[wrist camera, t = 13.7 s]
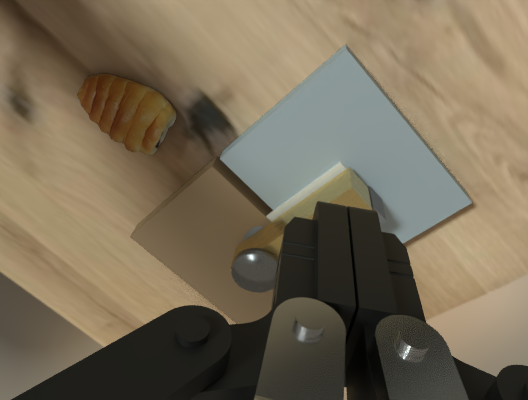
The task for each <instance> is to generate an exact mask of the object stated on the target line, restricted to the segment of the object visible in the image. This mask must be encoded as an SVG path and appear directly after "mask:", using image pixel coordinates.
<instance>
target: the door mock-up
mask: <svg viewBox="0 0 528 400" xmlns="http://www.w3.org/2000/svg"><path fill="white" fill-rule="evenodd" d="M348 167H350V168H351V169H352V170H353V171H354V173H355V174H356V175H357V176H358V177H359V178H360V179H361V180H362V181H363V183H364V184H365V185H366V186H367V187H368V190H369V195H370V201H371V207H372V210H373V211H377V213H378V217H379V222H380V227H381V232H386V233H392V234H395V235H396V236H397V238H398V239H399V240H400V241H401V242H402V244H403V243H405V242H407V241H408V240H410V239H412V238H413V237H415V236H417V235H418V234H420V233H422V232H424V231H425V230H427V229H429V228H430V227H432V226H434V225H435V224H437V223H439V222H441V221H442V220H444V219H446V218H447V217H449V216H451V215H452V214H454V213H456V212H458V211H459V210H461V209H463V208H464V207H466V206H468V205H469V204H471V203H472V201H471V199H470V198H469V196H468V194H467V192H466V191H465V190H464V189H463V187H462V186H461V185H460V184H459V182H458V181H457V180H456V179H455V178H454V176H453V175H452V174H451V173H450V171H449V170H448V169H447V168H446V167H445V165H444V164H443V163H442V162H441V160H440V159H439V158H438V157H437V155H436V154H435V153H434V152H433V151H432V149H431V148H430V147H429V146H428V144H427V143H426V142H425V141H424V140H423V138H422V137H421V136H420V135H419V133H418V132H417V131H416V130H415V129H414V127H413V126H412V125H411V124H410V122H409V121H408V120H407V119H406V118H405V116H404V115H403V114H402V113H401V111H400V110H399V109H398V108H397V107H396V105H395V104H394V103H393V102H392V100H391V99H390V98H389V97H388V96H387V94H386V93H385V92H384V91H383V89H382V88H381V87H380V86H379V85H378V83H377V82H376V81H375V80H374V78H373V77H372V76H371V75H370V73H369V72H368V71H367V70H366V69H365V67H364V66H363V65H362V64H361V62H360V61H359V60H358V59H357V58H356V56H355V55H354V54H353V53H352V51H351V50H350V49H349V48H348V47H347V45H346V44H345V45H344V46H343V47H342V48H341V49H340V50H338V51H337V52H336V53H335V54H334V55H333V56H331V57H330V58H329V59H328V60H327V61H326V62H325V63H323V64H322V65H321V66H320V67H319V68H318V69H316V70H315V71H314V72H313V73H312V74H311V75H310V76H308V77H307V78H306V79H305V80H304V81H303V82H301V83H300V84H299V85H298V86H297V87H296V88H295V89H293V90H292V91H291V92H290V93H289V94H288V95H287V96H285V97H284V98H283V99H282V100H281V101H280V102H278V103H277V104H276V105H275V106H274V107H273V108H272V109H270V110H269V111H268V112H267V113H266V114H265V115H263V116H262V117H261V118H260V119H259V120H258V121H257V122H255V123H254V124H253V125H252V126H251V127H250V128H248V129H247V130H246V131H245V132H244V133H243V134H242V135H240V136H239V137H238V138H237V139H236V140H235V141H233V142H232V143H231V144H230V145H229V146H228V147H227V148H225V149H224V150H223V152H222V155H221V157H220V158H219V157H218V156H216V157H215V158H214V159H213V160H212V161H210V162H209V163H208V164H207V165H206V166H205V167H204V168H202V169H201V170H200V171H199V172H198V173H197V174H195V175H194V176H193V177H192V178H191V179H190V180H189V181H187V182H186V183H185V184H184V185H183V186H182V187H180V188H179V189H178V190H177V191H176V192H175V193H174V194H172V195H171V196H170V197H169V198H168V199H167V200H165V201H164V202H163V203H162V204H161V205H160V206H159V207H157V208H156V209H155V210H154V211H153V212H152V213H151V214H149V215H148V216H147V217H146V218H145V219H144V220H142V221H141V222H140V223H139V224H138V225H137V226H136V228H135V230H134V231H133V233H132V234H131V236H130V237H131V238H132V239H133V240H134V241H136V242H137V243H138V244H139V245H141V246H142V247H143V248H144V249H146V250H147V251H148V252H149V253H150V254H152V255H153V256H154V257H155V258H157V259H158V260H159V261H160V262H162V263H163V264H164V265H165V266H167V267H168V268H169V269H170V270H171V271H173V272H174V273H175V274H176V275H178V276H179V277H180V278H181V279H183V280H184V281H185V282H186V283H188V284H189V285H190V286H191V287H192V288H194V289H195V290H196V291H197V292H199V293H200V294H201V295H202V296H204V297H205V298H206V299H207V300H208V301H210V302H211V303H212V304H213V305H215V306H216V307H217V308H218V309H220V310H221V311H222V312H223V313H225V314H226V315H227V316H228V317H229V318H231V319H232V320H233V321H234V322H236V323H237V324H243V323H249V322H253V321H256V320H258V319H261V318H262V317H264V316H265V315H267V314H268V313H269V312H270V311H271V305H272V297H273V290H274V288H273V289H272V290H270V291H267V292H261V293H257V292H251V291H247V290H245V289H243V288H241V287H240V286H239V285H238V284H237V283H236V282H235V281H234V279H233V277H232V273H231V271H230V268H231V264H232V260H233V256H234V253H235V249H236V246H237V245H239V244H240V243H242V242H243V241H245V240H246V239H247V238H249V237H250V236H252V235H253V234H254V233H256V232H257V231H259V230H260V229H262V228H263V227H264V226H266V225H267V224H269V223H270V222H272V221H273V220H274V219H276V218H277V217H279V216H280V215H282V214H283V213H284V212H286V211H287V210H289V209H290V208H292V207H293V206H294V205H296V204H297V203H299V202H300V201H301V200H303V199H304V198H306V197H307V196H309V195H310V194H311V193H313V192H314V191H316V190H317V189H319V188H320V187H321V186H323V185H324V184H326V183H327V182H329V181H330V180H331V179H333V178H334V177H336V176H337V175H338V174H340V173H341V172H343V171H344V170H346V169H347V168H348Z"/></svg>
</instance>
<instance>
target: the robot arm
mask: <svg viewBox="0 0 528 400" xmlns="http://www.w3.org/2000/svg"><path fill="white" fill-rule="evenodd" d="M413 276H414V275H413V271H412V268H411V266H410V260H409V256H408V253H407V249H406V247H405V246H404V245H403V244H402V242H401V241H400V240H399V239H398V238H397V236H396V235H395V234H392V233H386V232H381V227H380V222H379V217H378V213H377V211H373V210H368V209H362V208H356V207H351V206H347V207H346V206H344V205H339V204H333V203H327V202H321V201H317V203H316V206H315V210H314V214H313V219H312V220H311V219H306V218H300V217H294V218H293V219H292V220H291V221H290V222H289V223H288V224H287V225H286V226H285V229H284V234H283V239H282V244H281V249H280V254H279V259H278V264H277V269H276V274H275V282H274V290H273V297H272V305H271V311H270V312H269V313H268V314H267V315H265V316H264V317H262V318H261V319H258V320H256V321H253V322H249V323H243V324H232V325H229V324H228V322H227V321H226V319H225V318H224V317H223V316H222V315H220V314H219V313H218V312H216V311H214V310H212V309H210V308H207V307H203V306H196V305H189V306H182V307H178V308H175V309H172V310H170V311H168V312H166V313H165V314H163V315H161V316H159V317H158V318H156V319H154V320H152V321H150V322H149V323H147V324H145V325H143V326H141V327H140V328H138V329H136V330H134V331H133V332H131V333H129V334H127V335H125V336H124V337H122V338H120V339H118V340H117V341H115V342H113V343H111V344H109V345H108V346H106V347H104V348H102V349H101V350H99V351H97V352H95V353H93V354H92V355H90V356H88V357H86V358H85V359H83V360H81V361H79V362H77V363H76V364H74V365H72V366H70V367H68V368H67V369H65V370H63V371H61V372H60V373H58V374H56V375H54V376H53V377H51V378H49V379H47V380H45V381H43V382H42V383H40V384H38V385H36V386H35V387H33V388H31V389H29V390H27V391H26V392H24V393H22V394H20V395H19V396H17V397H15V398H13V399H12V400H344V387H347V400H528V366H523V365H511V366H507V367H505V368H503V369H502V370H501V371H500V373H499V374H498V376H497V377H495V376H493V375H491V374H489V373H486V372H484V371H482V370H479V369H477V368H475V367H473V366H470V365H468V364H466V363H464V362H462V361H460V360H458V359H456V358H454V357H453V356H452V355H451V353H450V350H449V347H448V346H447V343H446V342H445V340H444V339H443V337H442V336H441V335H440V334H439V333H438V332H437V331H436V330H435V329H434V328H433V327H431V326H430V325H428V324H427V323H426V320H425V317H424V313H423V309H422V305H421V301H420V298H419V294H418V290H417V286H416V283H415V279H414V278H413Z"/></svg>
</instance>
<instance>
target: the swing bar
mask: <svg viewBox="0 0 528 400" xmlns="http://www.w3.org/2000/svg"><path fill="white" fill-rule="evenodd" d="M317 201H321V202H327V203H333V204H339V205H344V206H346V207H347V206H351V207H356V208H362V209H368V210H372V207H371V201H370V195H369V190H368V187H367V186H366V185H365V184H364V183H363V181H362V180H361V179H360V178H359V177H358V176H357V175H356V174H355V173H354V171H353V170H352V169H351V168H350V167H348V168H347V169H346V170H344V171H343V172H341V173H340V174H338V175H337V176H336V177H334V178H333V179H331V180H330V181H329V182H327V183H326V184H324V185H323V186H321V187H320V188H319V189H317V190H316V191H314V192H313V193H311V194H310V195H309V196H307V197H306V198H304V199H303V200H301V201H300V202H299V203H297V204H296V205H294V206H293V207H292V208H290V209H289V210H287V211H286V212H284V213H283V214H282V215H280V216H279V217H277V218H276V219H274V220H273V221H272V222H270V223H269V224H267V225H266V226H264V227H263V228H262V229H260V230H259V231H257V232H256V233H254V234H253V235H252V236H250V237H249V238H247V239H246V240H245V241H243V242H242V243H240V244H239V245H237V246H236V249H235V253H234V256H233V260H232V264H231V268H230V271H231V273H232V277H233V279H234V281H235V282H236V283H237V284H238V285H239V286H240V287H241V288H243V289H245V290H247V291H251V292H257V293H261V292H267V291H270V290H272V289H273V288H274V282H275V274H276V269H277V264H278V259H279V254H280V249H281V244H282V239H283V234H284V229H285V226H286V225H287V224H288V223H289V222H290V221H291V220H292V219H293V218H294V217H300V218H306V219H311V220H312V219H313V214H314V210H315V206H316V203H317Z"/></svg>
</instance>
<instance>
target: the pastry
mask: <svg viewBox="0 0 528 400" xmlns="http://www.w3.org/2000/svg"><path fill="white" fill-rule="evenodd" d="M77 95H78V98H79V100H80V102H81V106H82V107H83V108H84V110H85V111H86V112H87V113H88V115H89V118H90V119H91V120H92V121H93V122H95V123H97V124H98V125H99V127H100V129H101V131H103V132H105V133H107V134H109V136H110V138H111V139H113V140H114V141H115V142H119V143H121V142H122V143H124V145H125V147H126V149H127V150H129V151H131V152H142V153H144V154H147V155H153V154H155V153H156V152H157V150H158V147H159V144H160V143H162V142H163V140H164V138H165V136H166V133H167V131H168V128H169V127H171V126H172V125H173V124H174V121H175V120H176V112H175V110H174V108H173V107H172V105H171V104H170V103H169V102H168V101H167V100H166V98H165V97H164V96H163V95H162V94H160V93H159V92H157V91H156V90H154V89H152V88H151V87H148V86H144V85H142V84H140V83H137V82H135V81H131V80H128V79H124V78H121V77H117V76H114V75H110V74H96V75H92V76H89V77H88V78H87V79H86V80H85V82H84V83H83V85H82V87H81V89H80V90H79V92H78V94H77Z"/></svg>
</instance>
